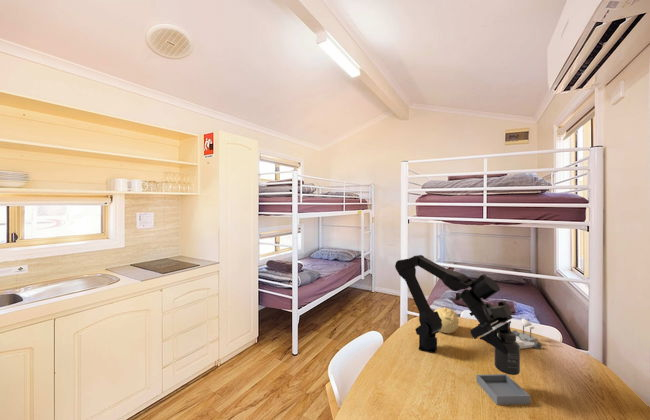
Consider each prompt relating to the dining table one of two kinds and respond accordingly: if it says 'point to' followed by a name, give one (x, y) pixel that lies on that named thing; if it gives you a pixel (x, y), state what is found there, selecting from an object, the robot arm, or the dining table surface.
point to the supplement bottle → (512, 359)
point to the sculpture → (448, 320)
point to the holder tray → (503, 389)
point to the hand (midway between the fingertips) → (511, 350)
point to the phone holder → (525, 336)
